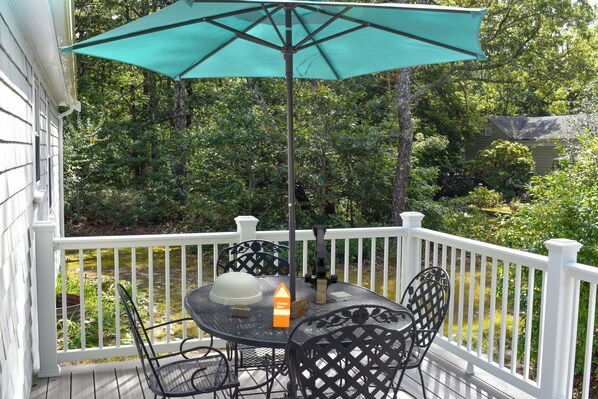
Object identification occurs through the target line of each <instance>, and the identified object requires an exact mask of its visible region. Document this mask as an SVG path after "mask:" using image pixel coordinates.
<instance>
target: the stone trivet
mask: <svg viewBox="0 0 598 399" xmlns="http://www.w3.org/2000/svg"><path fill="white" fill-rule="evenodd" d="M328 296H331V297H333V298H336V299H341V298H346V297H352V296H353V295H351V294H350V293H347V292H345V291H344V290H343V291H336V292H328Z"/></svg>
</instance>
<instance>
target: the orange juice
mask: <svg viewBox="0 0 598 399" xmlns="http://www.w3.org/2000/svg"><path fill="white" fill-rule="evenodd" d="M273 298H274V299H273V300H274V302H273V327H275V328H290V316H289V315H290V303H291V292H290V291H289V290H288V288H287V286H286V285H285V284H284V282H281V283H280V285H279V286H278V288H277V289H276V290H275V291H274V294H273Z"/></svg>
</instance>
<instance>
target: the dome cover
mask: <svg viewBox="0 0 598 399" xmlns="http://www.w3.org/2000/svg"><path fill="white" fill-rule="evenodd" d="M208 296H209V297H208V299H209V300H210V301H211V302H213V303H216V304H219V305H223V306H235V304H237V303H238V305H237V306H239V305H240V304H243V305H244V306H245V305H246V304H247V305H246V306H248V305H253V304H257V303H259V302H261V301H262V299H263V293H262V290H261V289H260V284H259V281H258V280H257V278H256V277H255V276H254V275H253V274H250V273H247V272H242V271H232V272H231V271H230V272H225V273H222V274H219V276H217V277H216V278H215V280H214V282H213V284H212V287H211V289H210V292H209V295H208Z"/></svg>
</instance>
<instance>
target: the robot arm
mask: <svg viewBox="0 0 598 399" xmlns="http://www.w3.org/2000/svg"><path fill="white" fill-rule="evenodd" d="M327 228H328V227H327V225H325V224H321V223H319V224H317V223H316V224H314V225H312V233H313V236H314V238H315V250H314V252H313V257H314V263H313V265H312V268H311V272H310V273H305V274H304V283H306V284H310V285H311V286H310V288H312V287H313V289H314V291H315V293H316V292H317V279H326V281H327V284H326V293H328V290H329V287H330V286H332V285H334V284H335V285H336V284H338V282H339V275H338V274H331V275H330V276H327V274H328V273H329V272H330V269H331V268H330V267H331V266H330V265H327V260H328V259H327V258H328V257H329V256H330V254H329V252H328V251H327V247H326V245H325V235H326V233H327Z"/></svg>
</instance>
